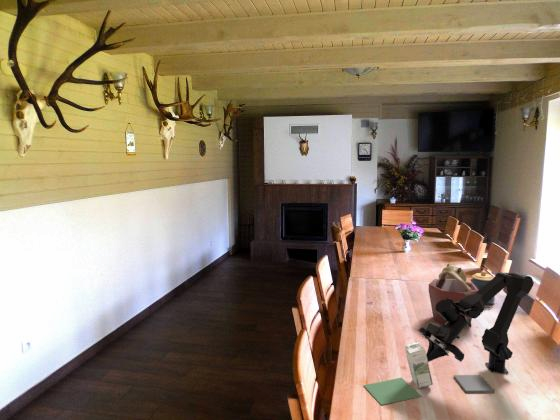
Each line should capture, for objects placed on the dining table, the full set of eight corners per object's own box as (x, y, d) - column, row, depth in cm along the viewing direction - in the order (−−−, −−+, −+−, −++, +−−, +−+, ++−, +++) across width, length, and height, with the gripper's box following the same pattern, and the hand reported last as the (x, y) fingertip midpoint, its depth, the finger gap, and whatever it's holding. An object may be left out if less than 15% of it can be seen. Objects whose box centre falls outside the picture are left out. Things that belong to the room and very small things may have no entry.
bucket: (481, 333, 186) (484, 281, 183) (431, 329, 190) (433, 279, 187) (467, 313, 210) (470, 267, 206) (423, 310, 214) (425, 265, 211)
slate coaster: (453, 377, 150) (453, 375, 149) (480, 376, 149) (480, 374, 149) (465, 392, 140) (465, 390, 140) (494, 392, 139) (494, 390, 139)
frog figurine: (432, 280, 265) (434, 262, 264) (454, 279, 271) (456, 262, 270) (446, 286, 252) (448, 268, 251) (469, 285, 258) (471, 268, 257)
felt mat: (401, 378, 149) (401, 377, 149) (421, 396, 138) (421, 395, 138) (363, 386, 144) (363, 385, 144) (381, 405, 133) (381, 404, 133)
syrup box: (427, 376, 148) (418, 340, 146) (433, 385, 142) (425, 348, 140) (412, 380, 148) (403, 345, 146) (418, 389, 142) (409, 352, 140)
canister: (488, 297, 233) (490, 268, 230) (498, 305, 220) (500, 274, 217) (465, 296, 234) (467, 267, 232) (474, 304, 221) (476, 274, 219)
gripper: (424, 306, 152) (398, 337, 150) (459, 325, 135) (430, 361, 133) (440, 323, 156) (414, 353, 154) (476, 344, 138) (448, 379, 136)
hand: (426, 361), depth 144 cm, fingers closed
